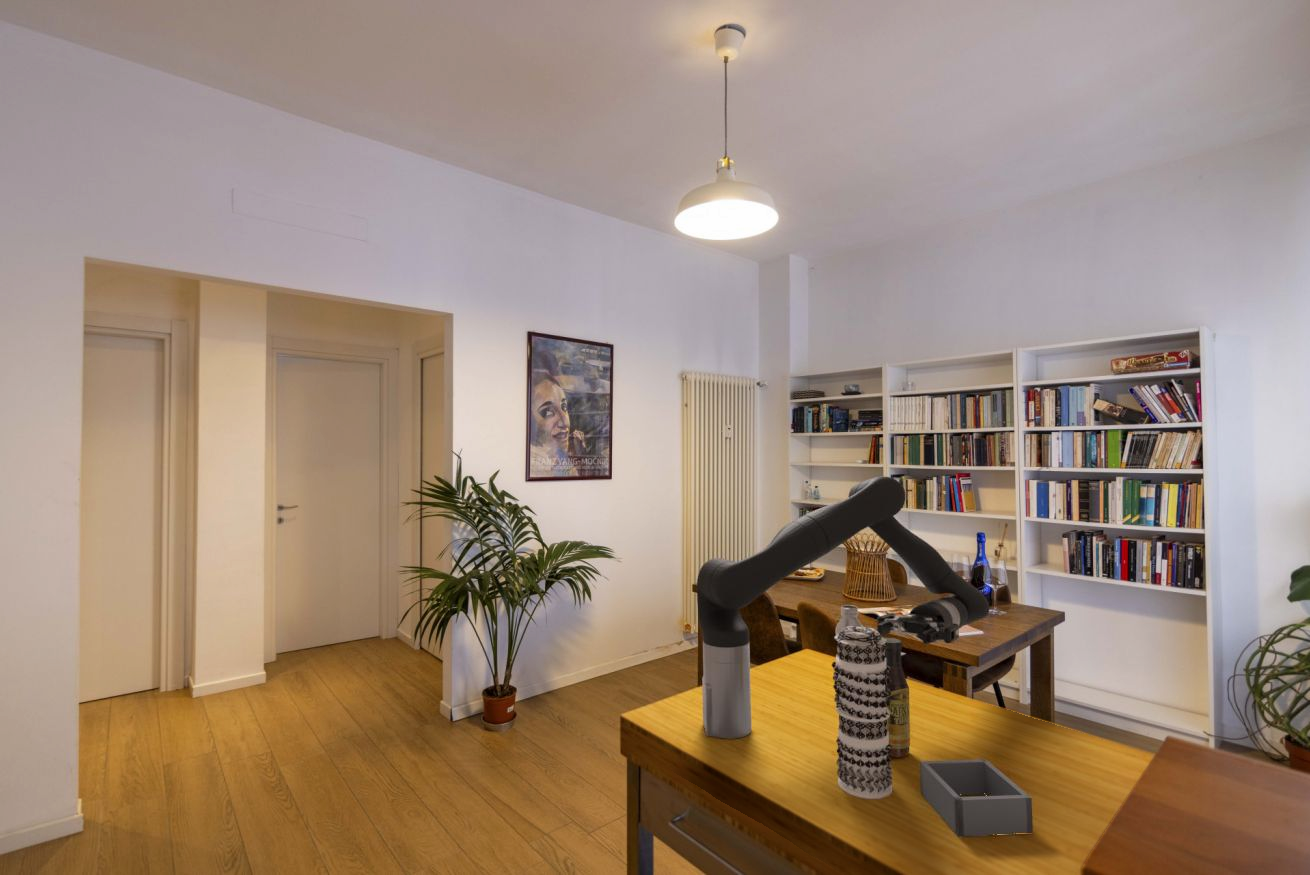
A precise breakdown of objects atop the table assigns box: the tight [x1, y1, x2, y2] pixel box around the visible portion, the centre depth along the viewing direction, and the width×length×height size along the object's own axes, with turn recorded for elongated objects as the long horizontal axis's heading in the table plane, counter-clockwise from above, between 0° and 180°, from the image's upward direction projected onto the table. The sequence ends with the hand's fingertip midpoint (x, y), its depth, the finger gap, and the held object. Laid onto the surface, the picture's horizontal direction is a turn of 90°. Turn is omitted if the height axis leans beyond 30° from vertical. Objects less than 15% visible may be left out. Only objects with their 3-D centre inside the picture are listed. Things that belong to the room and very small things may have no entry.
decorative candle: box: [831, 625, 893, 800], centre depth 103 cm, size 9×9×25 cm
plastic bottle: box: [834, 604, 863, 688], centre depth 141 cm, size 6×7×20 cm
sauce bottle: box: [883, 637, 911, 759], centre depth 115 cm, size 6×6×20 cm
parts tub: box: [919, 758, 1034, 838], centre depth 94 cm, size 11×12×5 cm
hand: (902, 634), depth 119 cm, fingers open, 8 cm apart
